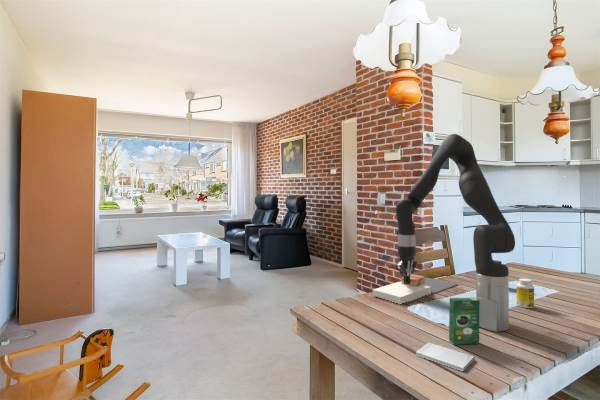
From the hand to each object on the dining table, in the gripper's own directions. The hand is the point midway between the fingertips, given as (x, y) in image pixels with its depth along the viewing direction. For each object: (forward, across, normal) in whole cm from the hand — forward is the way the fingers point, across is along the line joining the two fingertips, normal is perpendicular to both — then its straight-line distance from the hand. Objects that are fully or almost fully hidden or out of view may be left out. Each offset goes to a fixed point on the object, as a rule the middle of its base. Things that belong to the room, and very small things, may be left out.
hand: (406, 283), depth 146 cm
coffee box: (+4, -30, -39) cm, 49 cm away
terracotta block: (+1, +6, +1) cm, 6 cm away
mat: (+4, +18, 0) cm, 18 cm away
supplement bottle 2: (+4, +18, -40) cm, 44 cm away
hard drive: (+5, -42, -40) cm, 58 cm away
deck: (+4, -4, 0) cm, 6 cm away
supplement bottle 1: (+4, +38, -22) cm, 44 cm away
